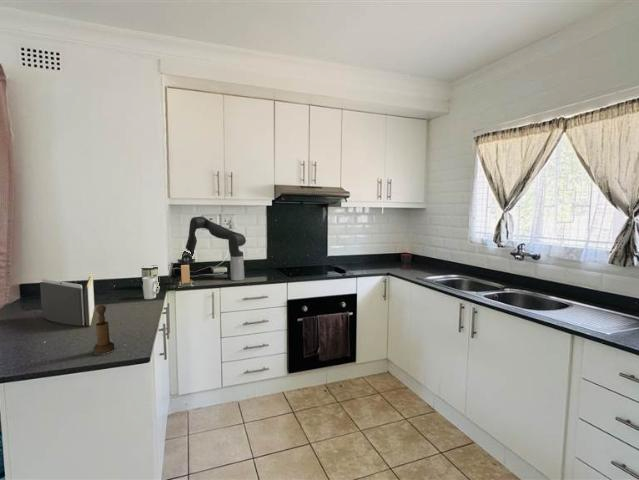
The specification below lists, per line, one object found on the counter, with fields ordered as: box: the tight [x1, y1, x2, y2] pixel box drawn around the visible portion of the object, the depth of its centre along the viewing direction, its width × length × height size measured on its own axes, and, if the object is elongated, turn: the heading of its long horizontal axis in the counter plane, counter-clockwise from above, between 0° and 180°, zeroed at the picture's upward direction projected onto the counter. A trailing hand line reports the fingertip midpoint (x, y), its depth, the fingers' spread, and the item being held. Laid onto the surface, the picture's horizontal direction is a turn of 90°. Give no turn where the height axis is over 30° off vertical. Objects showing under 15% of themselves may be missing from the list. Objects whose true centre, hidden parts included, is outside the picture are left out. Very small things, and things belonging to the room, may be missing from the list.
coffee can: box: [140, 267, 158, 290], centre depth 220 cm, size 10×10×14 cm
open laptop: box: [39, 273, 95, 326], centre depth 165 cm, size 35×22×20 cm, turn 68°
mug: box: [142, 277, 161, 300], centre depth 198 cm, size 10×7×12 cm, turn 77°
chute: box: [178, 279, 195, 287], centre depth 229 cm, size 10×12×2 cm
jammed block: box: [180, 264, 191, 284], centre depth 232 cm, size 5×4×12 cm
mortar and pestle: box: [92, 304, 115, 354], centre depth 127 cm, size 7×6×18 cm
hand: (185, 262), depth 243 cm, fingers closed
